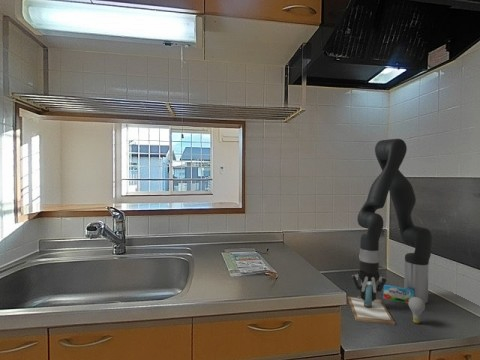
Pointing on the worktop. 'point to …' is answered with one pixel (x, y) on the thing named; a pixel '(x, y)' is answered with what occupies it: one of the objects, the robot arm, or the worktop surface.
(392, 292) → the yogurt
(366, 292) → the bottle
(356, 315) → the clipboard
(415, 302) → the light bulb
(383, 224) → the robot arm
